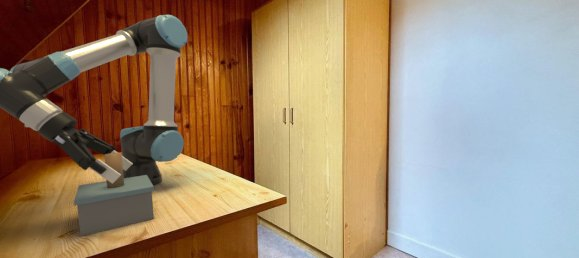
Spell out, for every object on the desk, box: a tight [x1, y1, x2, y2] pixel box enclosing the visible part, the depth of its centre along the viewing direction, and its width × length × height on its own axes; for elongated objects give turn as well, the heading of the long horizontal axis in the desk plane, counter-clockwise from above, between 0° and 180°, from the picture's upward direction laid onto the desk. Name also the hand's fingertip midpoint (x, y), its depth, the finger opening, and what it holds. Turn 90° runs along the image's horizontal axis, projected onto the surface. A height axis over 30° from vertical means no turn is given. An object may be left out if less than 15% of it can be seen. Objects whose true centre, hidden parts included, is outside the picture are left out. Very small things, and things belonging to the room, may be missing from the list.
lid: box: [73, 152, 155, 207], centre depth 73 cm, size 15×17×11 cm
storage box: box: [76, 191, 155, 237], centre depth 74 cm, size 14×16×8 cm
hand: (123, 172), depth 73 cm, fingers open, 13 cm apart
